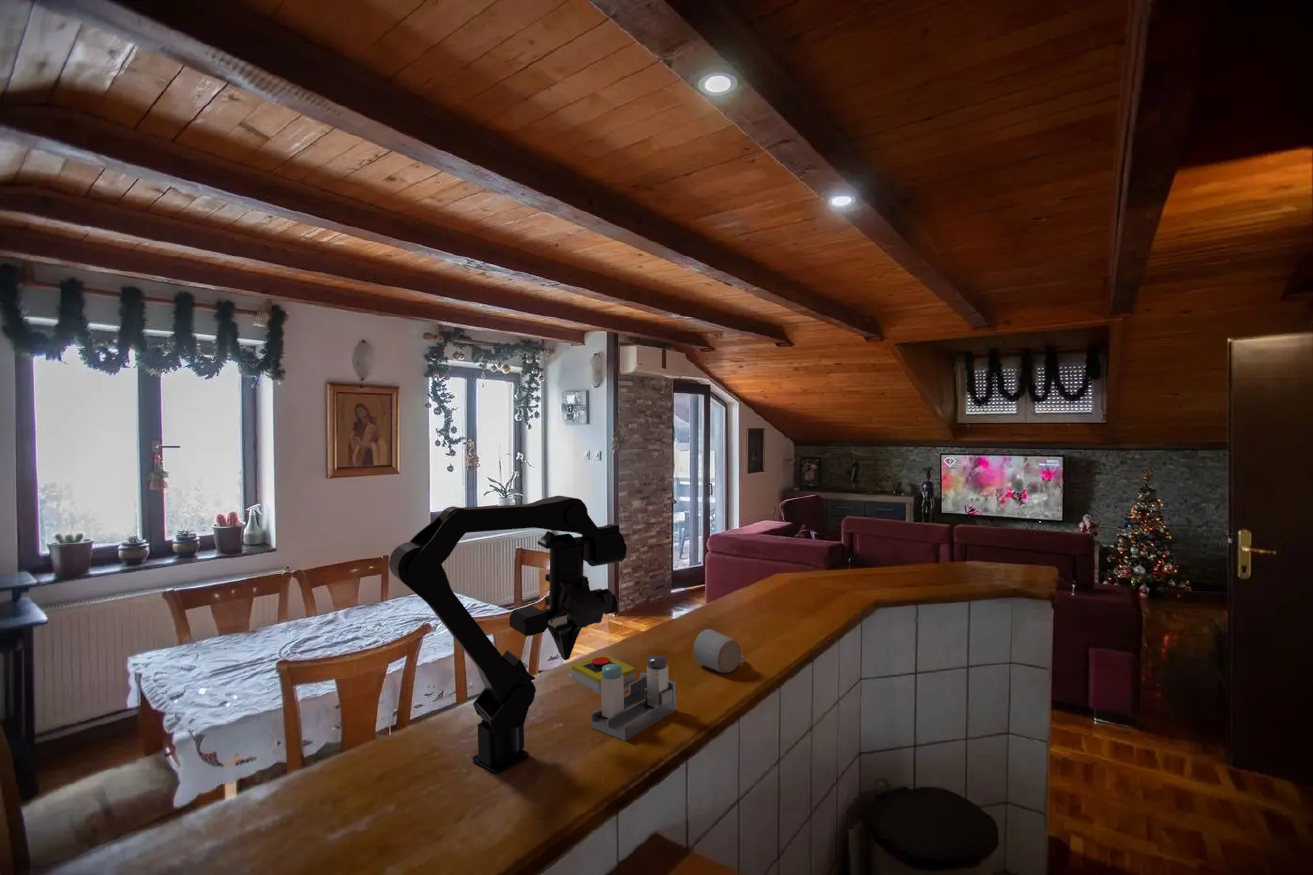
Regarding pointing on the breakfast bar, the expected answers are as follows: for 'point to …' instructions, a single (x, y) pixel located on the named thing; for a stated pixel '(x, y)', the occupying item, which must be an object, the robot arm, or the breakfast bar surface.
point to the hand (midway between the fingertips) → (565, 659)
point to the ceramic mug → (717, 651)
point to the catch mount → (641, 702)
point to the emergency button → (599, 672)
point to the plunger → (612, 690)
